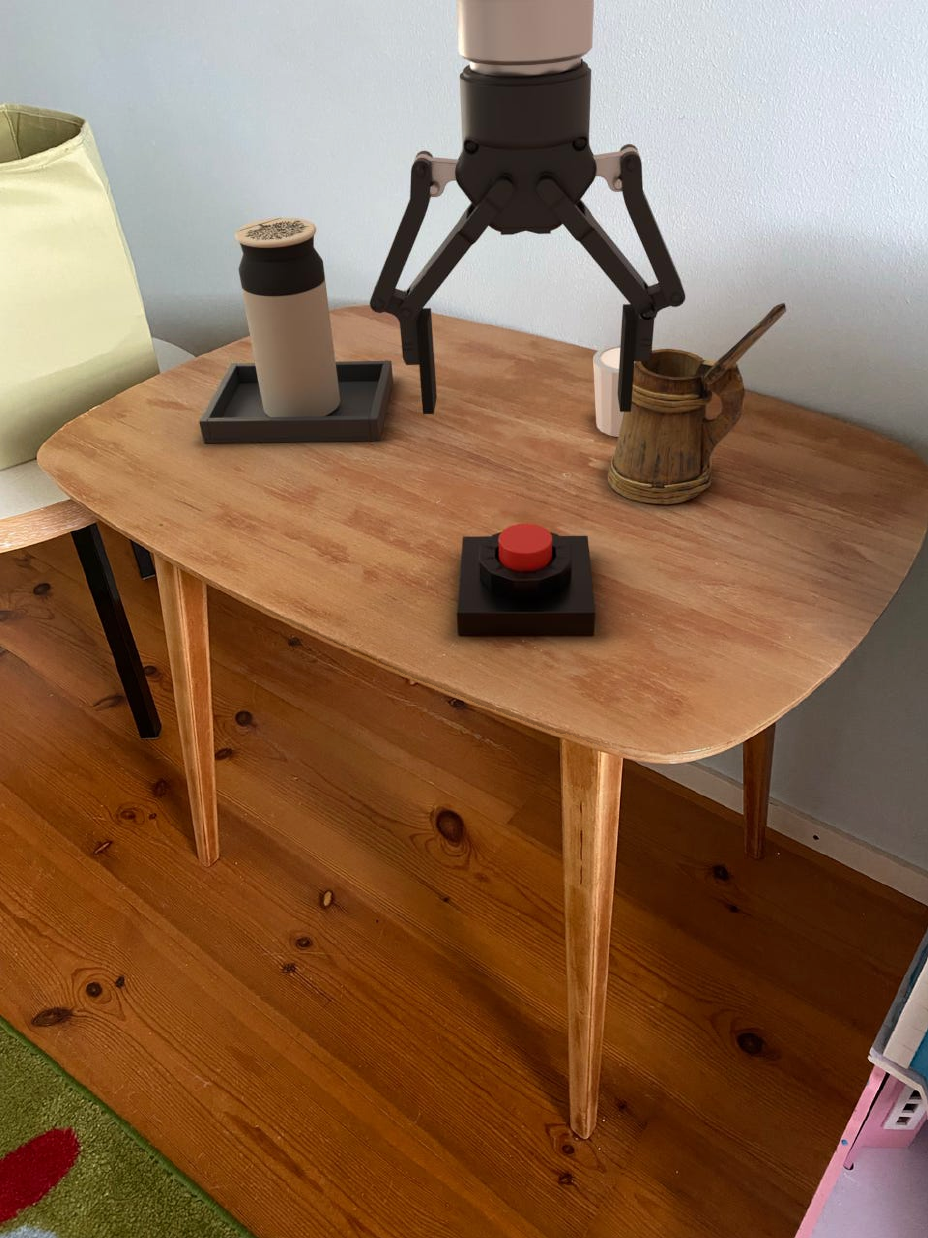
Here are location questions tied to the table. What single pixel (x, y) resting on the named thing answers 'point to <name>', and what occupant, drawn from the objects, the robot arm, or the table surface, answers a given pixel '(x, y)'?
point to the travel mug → (288, 317)
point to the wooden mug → (678, 421)
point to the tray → (245, 421)
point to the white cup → (607, 390)
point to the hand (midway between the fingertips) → (526, 404)
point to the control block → (525, 591)
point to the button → (525, 547)
